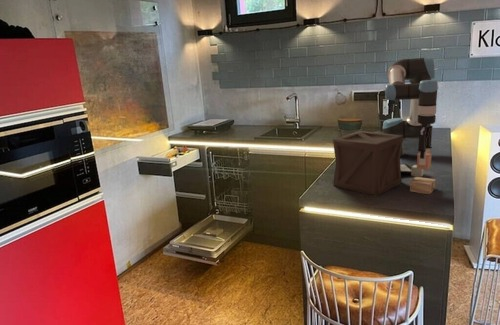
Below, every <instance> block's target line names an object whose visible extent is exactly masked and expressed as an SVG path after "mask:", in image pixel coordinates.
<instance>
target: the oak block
mask: <svg viewBox="0 0 500 325" xmlns="http://www.w3.org/2000/svg"><path fill="white" fill-rule="evenodd" d="M409 184H410V185H409V192H412V193H414V192H415V193H419V194H425V195H431V193H433V191H434V190H436V189H435V188H436V179H435V178H428V177H423V176H422V177H417V176H414V178H413V179H412V180H411V181H410V183H409Z"/></svg>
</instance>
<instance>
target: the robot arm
mask: <svg viewBox="0 0 500 325" xmlns="http://www.w3.org/2000/svg"><path fill="white" fill-rule="evenodd" d="M435 69H436V68H435V61H434V58H432V57H419V58H417V57H415V58H404V59H399V60H397V61H395V62H393V64H391V65H390V66H389V68H388V69H387V73H386V75H387V79H388V80H389V81H388V82H389V83H388V84H386V85H385V86H384V88H385V89H384V91H385V92H384V94H385V95H384V98H385V100H387V101H399V100H400V101H401V100H404V101H405V100H410V103H409V104H410V105H409V115H408V116H407V117H406V120H403V118H402V117H394V118H389V119H386V120H384V121H383V123H382V124H383V125H382V133H385V134H394V135H404V136H403V140H412V139H413V140H415V139H416V140H418V147H417V148H418V149H417V152H419V153H420V154H419V165H425V164H426V152H427V153H430V149H432V139H433V138H432V136H433V135H432V134H433V125H434V124H435V123H436V121H437V120H436V117H437V116H436V114H437V98H438V90H439V86H438V84H439V82H438V80H436V79H435V77H436V76H435V74H436V73H435V72H436V71H435ZM407 80H408V81H409V83H406V82H405V81H407ZM432 124H433V125H432ZM403 156H405V150H404V146H403V145H402V149H401V155H400V157H403Z"/></svg>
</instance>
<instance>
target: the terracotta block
mask: <svg viewBox="0 0 500 325" xmlns="http://www.w3.org/2000/svg"><path fill="white" fill-rule="evenodd" d="M419 154H420V152H418V153H417V155H416V157H417V158H416V165H417V169H424V171H425V170H427V171H429V169H430V168H432V155H433V154H432V152H429V153H427V152H426V164H425V165H419Z"/></svg>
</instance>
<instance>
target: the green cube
mask: <svg viewBox="0 0 500 325" xmlns="http://www.w3.org/2000/svg"><path fill="white" fill-rule="evenodd" d="M411 168H412V172H410V173H411V174H410V176H411V177H422V178H423V176H424V175H425V174H424V173H425V169H417V164H414V165H412V166H411Z"/></svg>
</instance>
